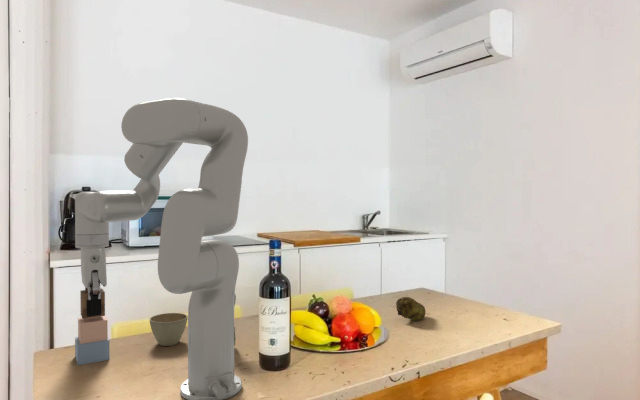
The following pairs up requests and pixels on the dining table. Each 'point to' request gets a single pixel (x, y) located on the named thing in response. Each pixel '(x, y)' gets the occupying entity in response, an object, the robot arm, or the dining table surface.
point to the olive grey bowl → (168, 327)
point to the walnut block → (84, 303)
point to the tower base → (91, 351)
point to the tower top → (92, 329)
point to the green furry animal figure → (410, 308)
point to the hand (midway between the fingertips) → (92, 312)
